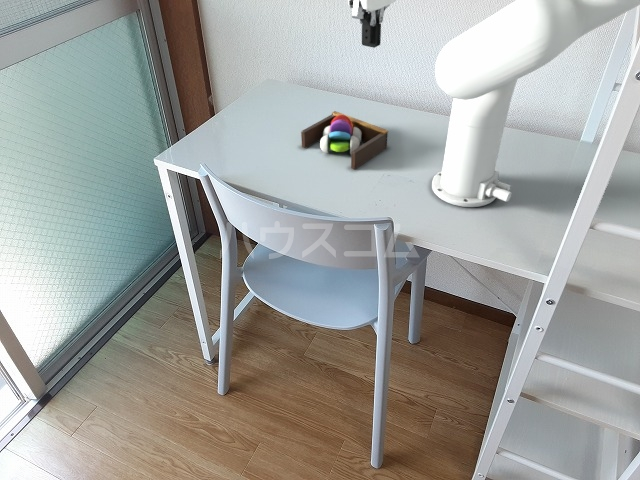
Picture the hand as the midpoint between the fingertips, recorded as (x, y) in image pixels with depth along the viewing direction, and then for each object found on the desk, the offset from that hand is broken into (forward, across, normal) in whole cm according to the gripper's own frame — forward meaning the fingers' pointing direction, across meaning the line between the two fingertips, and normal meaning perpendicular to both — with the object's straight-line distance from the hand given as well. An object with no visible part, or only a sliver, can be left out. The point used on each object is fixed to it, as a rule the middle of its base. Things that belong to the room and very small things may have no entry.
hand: (371, 45), depth 98 cm
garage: (+23, -2, +6) cm, 24 cm away
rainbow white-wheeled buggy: (+23, -2, +6) cm, 24 cm away
